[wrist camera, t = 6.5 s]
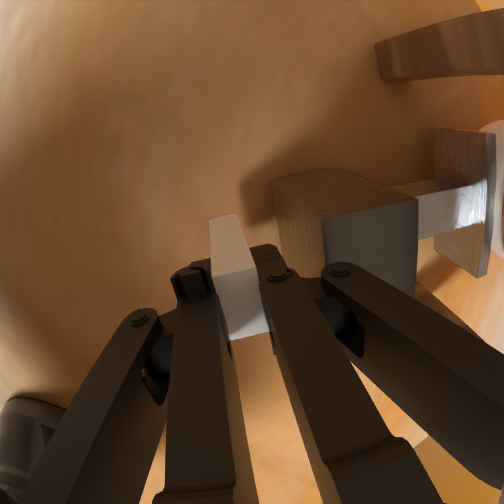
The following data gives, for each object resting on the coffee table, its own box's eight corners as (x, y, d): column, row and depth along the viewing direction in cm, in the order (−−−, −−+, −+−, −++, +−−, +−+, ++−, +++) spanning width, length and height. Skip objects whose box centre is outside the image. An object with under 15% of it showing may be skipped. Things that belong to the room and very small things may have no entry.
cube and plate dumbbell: (287, 286, 20) (331, 371, 13) (263, 145, 16) (312, 158, 9) (439, 244, 21) (511, 292, 13) (437, 126, 17) (528, 140, 10)
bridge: (392, 316, 23) (501, 450, 9) (374, 44, 15) (587, 2, 1) (415, 307, 23) (527, 428, 10) (404, 46, 15) (603, 24, 1)
